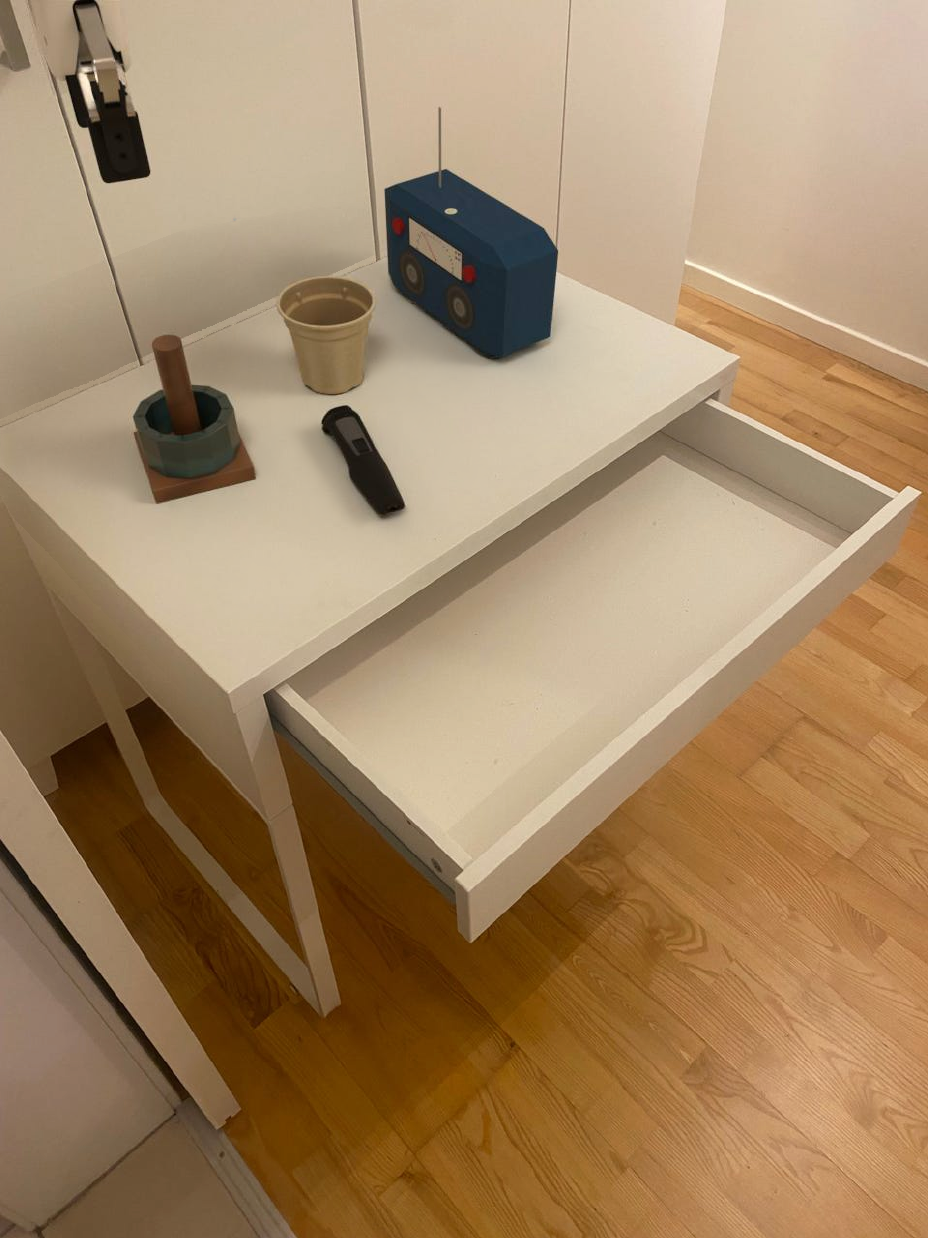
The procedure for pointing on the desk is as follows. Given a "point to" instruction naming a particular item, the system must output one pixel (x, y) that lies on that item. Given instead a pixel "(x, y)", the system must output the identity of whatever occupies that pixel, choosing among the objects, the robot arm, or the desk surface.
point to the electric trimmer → (363, 460)
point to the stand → (186, 427)
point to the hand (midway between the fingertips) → (113, 150)
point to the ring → (188, 435)
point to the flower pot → (328, 330)
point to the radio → (471, 261)
